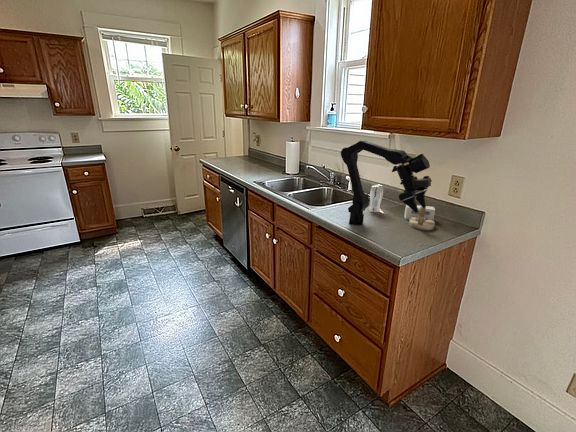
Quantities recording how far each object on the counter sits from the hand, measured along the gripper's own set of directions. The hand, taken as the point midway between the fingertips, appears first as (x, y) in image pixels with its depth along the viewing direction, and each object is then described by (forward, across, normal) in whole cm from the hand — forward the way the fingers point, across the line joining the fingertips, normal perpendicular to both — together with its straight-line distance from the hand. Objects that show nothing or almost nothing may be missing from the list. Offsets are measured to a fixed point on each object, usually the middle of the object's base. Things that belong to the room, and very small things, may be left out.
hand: (420, 209), depth 138 cm
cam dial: (+10, +20, +12) cm, 25 cm away
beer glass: (-5, +24, +36) cm, 44 cm away
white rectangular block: (+8, +29, +16) cm, 34 cm away
